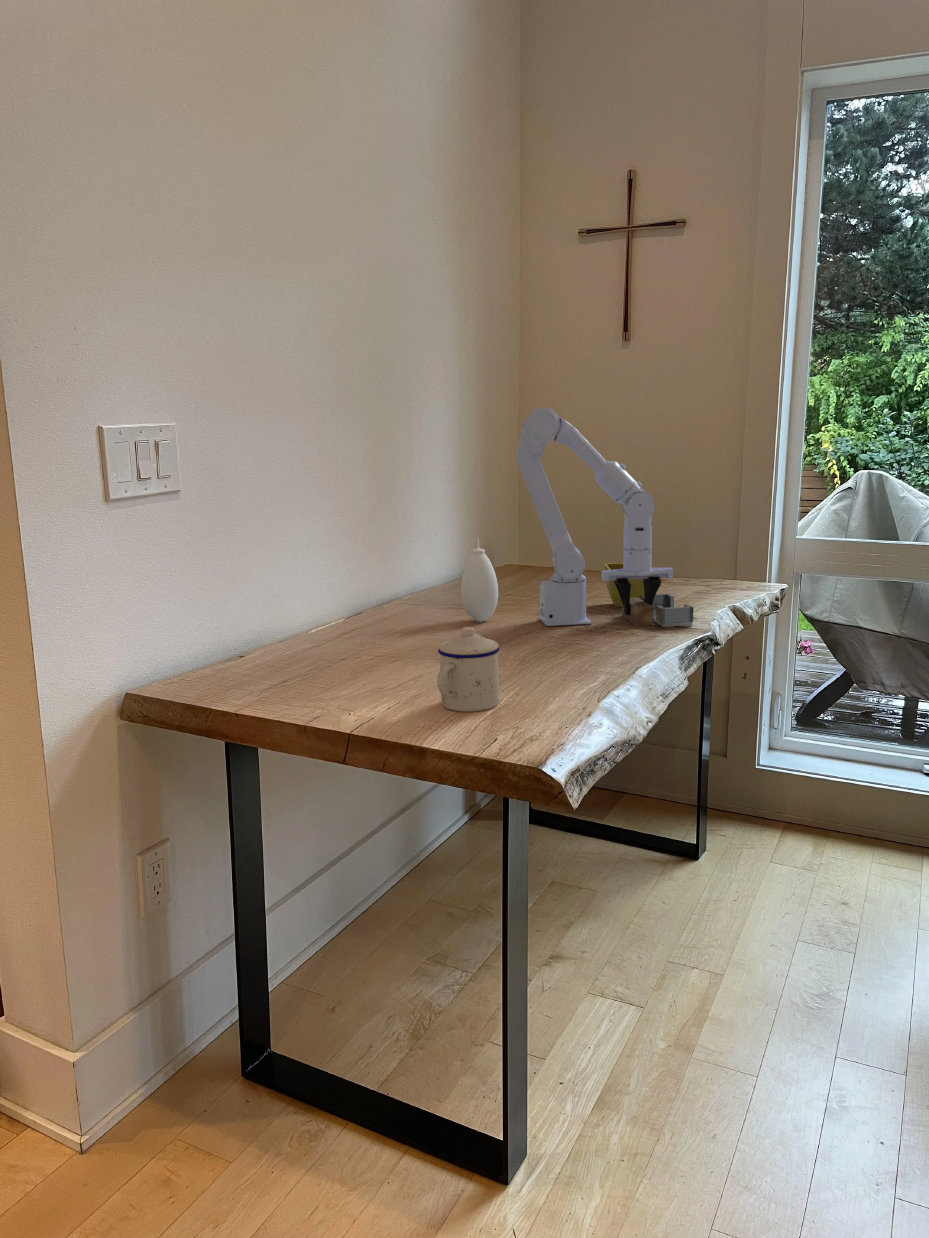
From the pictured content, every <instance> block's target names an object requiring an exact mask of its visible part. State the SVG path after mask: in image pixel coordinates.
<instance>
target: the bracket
mask: <svg viewBox="0 0 929 1238" xmlns="http://www.w3.org/2000/svg"><path fill="white" fill-rule="evenodd" d="M639 598H640V599H641V600H643V601H644V595H640V597H639ZM683 605H684V606H676V607H675V595H673V594H671V593H656V595H655V597H654V600H653V603H652V607H653V623H655V622H656V623H655V624H657V625H658V626H660V627H661V626H662V627H661V628H663V627H665V628H675V627H674V626H685V627H692V626H693V623H694V606H692V605H690V603H689V604H688V603H686V604H685V603H684V604H683Z"/></svg>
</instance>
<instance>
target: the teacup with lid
mask: <svg viewBox="0 0 929 1238" xmlns="http://www.w3.org/2000/svg"><path fill="white" fill-rule="evenodd" d="M460 632H461V633H460V634H456V635H455V636H453V637H452V638H451V639H448V640H445V641H443V642H442V643H440V644H439V646H438V649H437V651H438V654H439V667H440V668H439V672H438V673H437V678H436V680H437V688H438V690H439V691H438V692H439V693H440V696H441V697H440V698H441V705H442V706H443V707H444V708H445V709H448V710H451V711H454V712H463V713H466V712H467V713H474V712H476V713H477V712H482V711H487V710H490V709H493V708H495V707H496V706H497V705H498V704H499V703H500V690H499V689H500V687H499V684H500V682H499V680H500V679H499V651H500V647H499V644H498V643H497V641H496V640H493V639H491V638H486V637H484V636H483V635H481V634H479V633H476V629H475V628H474V627H471V626H467V627H462V628H461V631H460Z"/></svg>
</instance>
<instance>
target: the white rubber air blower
mask: <svg viewBox="0 0 929 1238" xmlns="http://www.w3.org/2000/svg"><path fill="white" fill-rule="evenodd" d="M476 540H477V542H476V544H477V545H476V548H474V549H472V551H471V552H472V554H471V555H470V557H468V558H467V559H468V560H467V562H466V564H465V567H464V570H463V573H462V576H461V583H460V597H461V601H462V602H461V603H462V606H463V609H464V611H465V612H466V615H467V616H469V617H471V620H473V621H475V622H477V623H483V622H486V621H487V620H489V619H490V618H489V617H490V616H493V614H494V612H495V610H496V608H497V605H498V598H499V585H498V579H497V575H496V571H495V568H494V567H493V564H492V562H491V560H490V559H489V557H488V556H487V555H486V553H485V552H486V550H485V549H484V548H481V547H480V538H479V536H477V539H476Z"/></svg>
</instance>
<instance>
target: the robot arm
mask: <svg viewBox="0 0 929 1238" xmlns="http://www.w3.org/2000/svg"><path fill="white" fill-rule="evenodd" d="M520 433H521V434H520V437H519V441H518V446H517V449H516V453H515V454H516V455H515V460H516V463H517V466H518V468H519V471H520V473H521V476H522V478H523V481H524V483H525V485H526V489H527V491H528V493H529V496H530V499H531V501H532V503H533V507H534V508H535V510H536V514H537V516H538V519H539V521H540V524H541V526H542V529H543V531H544V533H545V535H546V539H547V540H548V541H547V542H548V544H549V546H550V549H551V552H552V557H551V563H552V566H553V569H554V573H553V574H552V575H550V579H549V580H543V581H541V582H540V586H539V612H540V613H539V615H540V616H539V619H540V620H541V622H542V623H543V624H544V625H545V626H547V627H551V626H552V627H553V626H555V627H556V626H572V625H590V624H592V620H590V619H589V618H588V617H587V576H586V575H584V574H583V573H584V571H585V569H586V560H585V558H584V556H583V555H582V552H581V550H579V548H578V547H577V546H575V545H574V544H573V540H572V539H571V536H570V534H569V531H568V529H567V526H566V523H565V520H564V517H563V516H562V513H561V511H560V508H559V505H558V503H557V500H556V497H555V495H554V493H553V489H552V488H551V484H550V482H549V480H548V477H547V475H546V471H545V469H544V467H543V464H542V462H541V457H542V455H543V454H544V452H545V450H546V447H547V445H548V444H549V442H551V440H552V439H553V442H556V443H559V444H563V445H565V446H567V447H569V448H570V450H571V451H573V452H574V453H575V454H576V455H577V456H578V457H579V458H580V459H581V460H582V461H583V462H584V463H585V464H586V465H588V466H589V468H591V469H592V470H593V471H594V473H595V480H594V481H595V483H596V484H597V485H598V486H599V487H600V488H601V489H602V490H603V491H604V492H605V494H606V495H608V496H609V497H610V498H611V499H612V500H613V501H614V502H615V503H616V504H620V505H621V509H622V511H623V512H624V526H623V538H622V539H623V540H622V541H623V543H622V544H623V552H622V553H623V555H622V556H623V559H622V560H623V561H622V563H623V569H616V570H606V571H605V570H601V580H602V581H603V582H606V581H609V580H614V583H615V585H616V588H617V590H618V592H619V594H620V597H621V600H622V604H623V609H624V614H626V615H630V591H631V584H630V583H629V581H628V580H629V579H643V583H644V602H646V603H647V604H649V605H651V606H652V603H653V600H654V597H655V595H656V594H658V591H659V589H660V587H661V585H662V580H661V579H674V568H672V567H652V559H653V557H652V553H653V552H652V551H653V550H652V549H653V527H652V519H653V518H652V514H653V513H654V512H655V507H656V505H655V503H654V499H653V497H652V495H651V494H649V492H647V491H646V490H645V489H644V488H642V487H643V484H642V483H641V481H636V480H635V479H634V478H633V477H632V476H631V475H630V473H628V471H626V469H627V467H626V465H625V464H624V463H618V462H617V461H616V460H615V461H614V460H611V461H610V460H609V461H608V460H606V459H605V458H604V457H603V456H602V455H601V453H599V452H598V450H597V449H596V448H595V447H594V446H593V445H592V444H591V443H590V442H589V441H588V440H587V439H586V438H585V437H584V435H583V434H581V432H579V430H578V429H577V428H576V427H575V426H574V425H572V424H571V423H570V422H569V421H567V420H566V419H564V418H563V417H561V416H559V415H558V414H557V412H556V411H555V410H553V409H551V408H550V407H539V408H536V409H534V410H532V411H531V412H530V414H529V415H528V416H527V418H526V420H525V422H524V423H523V425H522V426H521V432H520ZM629 576H632V577H629Z"/></svg>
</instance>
